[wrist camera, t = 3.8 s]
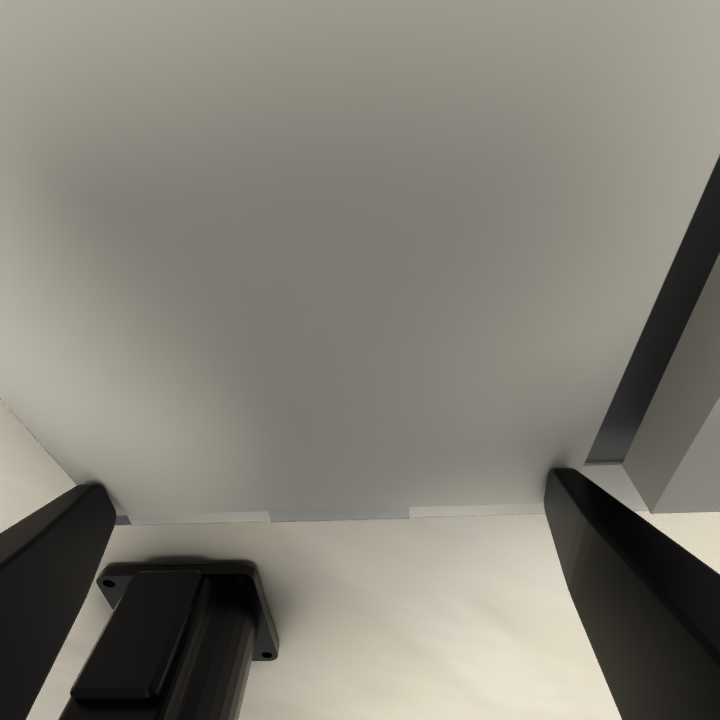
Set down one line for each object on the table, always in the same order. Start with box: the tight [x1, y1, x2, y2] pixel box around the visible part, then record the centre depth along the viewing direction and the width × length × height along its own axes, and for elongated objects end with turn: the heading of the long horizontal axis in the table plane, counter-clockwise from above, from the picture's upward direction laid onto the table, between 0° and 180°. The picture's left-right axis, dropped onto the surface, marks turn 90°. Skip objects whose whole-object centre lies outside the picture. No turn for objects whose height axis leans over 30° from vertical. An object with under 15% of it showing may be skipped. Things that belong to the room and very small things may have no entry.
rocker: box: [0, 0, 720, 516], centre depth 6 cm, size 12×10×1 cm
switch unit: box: [115, 155, 720, 525], centre depth 8 cm, size 15×24×4 cm, turn 94°
